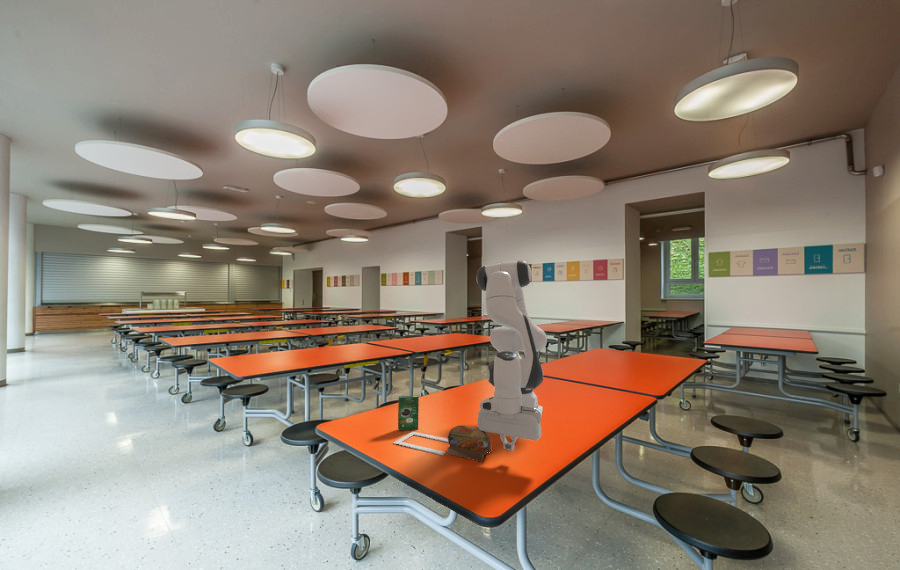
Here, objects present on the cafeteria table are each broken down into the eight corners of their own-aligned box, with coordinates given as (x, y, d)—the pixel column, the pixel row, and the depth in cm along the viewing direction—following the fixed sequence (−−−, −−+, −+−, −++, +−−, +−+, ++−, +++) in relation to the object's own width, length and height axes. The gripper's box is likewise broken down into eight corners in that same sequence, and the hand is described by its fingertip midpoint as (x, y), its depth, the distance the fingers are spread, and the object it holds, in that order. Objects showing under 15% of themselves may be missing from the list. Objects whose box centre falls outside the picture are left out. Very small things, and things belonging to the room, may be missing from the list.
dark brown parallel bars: (459, 444, 122) (459, 438, 122) (491, 451, 116) (491, 445, 116) (447, 454, 114) (447, 447, 114) (481, 461, 109) (480, 455, 109)
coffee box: (418, 427, 140) (417, 394, 140) (419, 429, 137) (418, 396, 138) (397, 429, 138) (397, 395, 138) (398, 431, 135) (398, 397, 136)
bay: (412, 432, 134) (412, 431, 134) (459, 442, 124) (459, 441, 124) (393, 443, 123) (393, 442, 123) (442, 455, 113) (442, 454, 113)
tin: (447, 450, 117) (447, 425, 118) (451, 447, 120) (451, 422, 120) (489, 459, 110) (488, 432, 111) (492, 455, 113) (492, 429, 113)
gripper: (543, 406, 107) (544, 451, 106) (482, 398, 117) (483, 439, 116) (538, 411, 101) (539, 460, 101) (475, 402, 111) (475, 446, 111)
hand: (509, 449), depth 108 cm, fingers closed
